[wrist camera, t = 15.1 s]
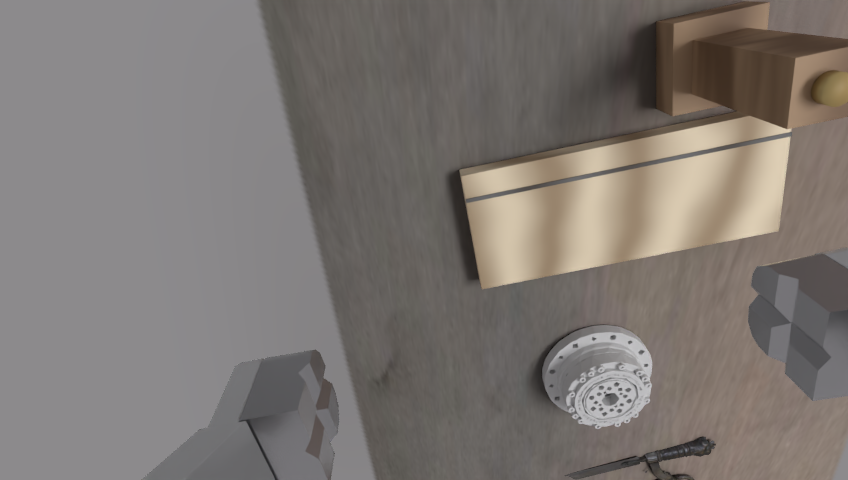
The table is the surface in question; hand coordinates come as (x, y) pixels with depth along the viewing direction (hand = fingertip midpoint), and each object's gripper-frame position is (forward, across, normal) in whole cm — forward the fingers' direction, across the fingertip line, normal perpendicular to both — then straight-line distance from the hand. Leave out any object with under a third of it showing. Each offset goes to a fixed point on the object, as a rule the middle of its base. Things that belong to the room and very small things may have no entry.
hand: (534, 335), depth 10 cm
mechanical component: (+30, -10, +29) cm, 42 cm away
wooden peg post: (+29, -18, +2) cm, 34 cm away
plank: (+29, -12, +12) cm, 34 cm away
